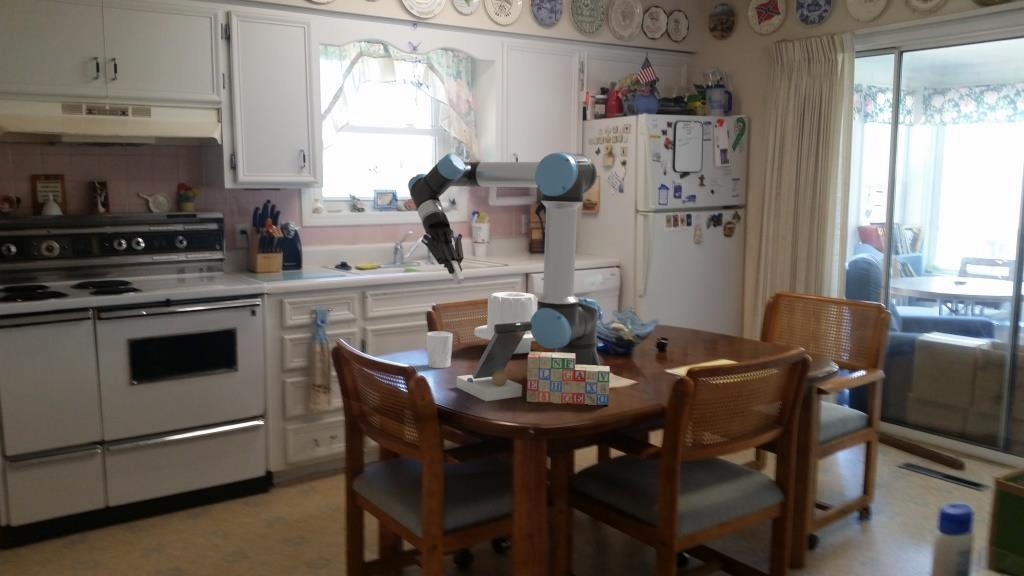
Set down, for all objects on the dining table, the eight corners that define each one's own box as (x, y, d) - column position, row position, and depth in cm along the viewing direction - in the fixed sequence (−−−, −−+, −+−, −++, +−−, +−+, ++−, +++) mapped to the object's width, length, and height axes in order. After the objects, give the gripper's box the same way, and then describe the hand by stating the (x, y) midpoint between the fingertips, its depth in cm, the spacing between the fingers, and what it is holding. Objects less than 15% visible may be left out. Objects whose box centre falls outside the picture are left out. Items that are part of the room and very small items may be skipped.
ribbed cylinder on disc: (528, 341, 292) (530, 288, 290) (561, 356, 270) (563, 299, 267) (463, 345, 282) (464, 290, 279) (491, 361, 260) (493, 301, 257)
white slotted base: (456, 387, 227) (457, 362, 226) (490, 382, 232) (491, 358, 232) (486, 401, 213) (486, 374, 212) (521, 396, 219) (522, 370, 218)
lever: (468, 373, 221) (496, 322, 208) (500, 369, 227) (529, 319, 213) (471, 380, 220) (499, 329, 207) (503, 376, 225) (533, 326, 212)
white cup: (448, 369, 247) (448, 337, 245) (422, 367, 248) (423, 335, 247) (455, 364, 254) (455, 332, 253) (430, 362, 256) (431, 330, 254)
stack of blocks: (608, 400, 218) (610, 354, 216) (608, 406, 212) (610, 359, 210) (528, 395, 221) (529, 350, 219) (525, 401, 214) (527, 355, 213)
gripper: (448, 226, 251) (474, 288, 240) (410, 227, 244) (435, 290, 233) (457, 210, 246) (484, 272, 235) (418, 210, 239) (444, 274, 228)
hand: (459, 281), depth 234 cm, fingers closed
